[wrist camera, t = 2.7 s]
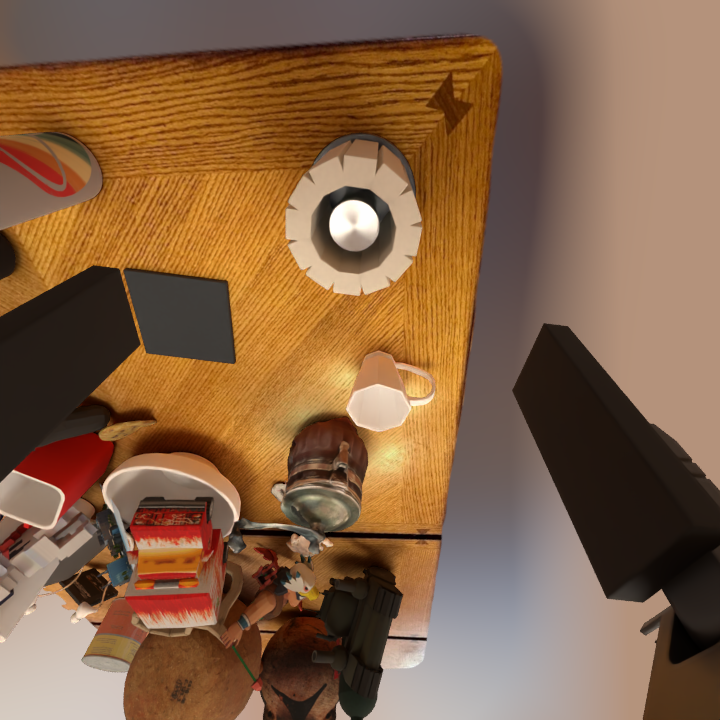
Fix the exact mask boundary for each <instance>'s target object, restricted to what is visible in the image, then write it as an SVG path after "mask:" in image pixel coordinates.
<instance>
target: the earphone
mask: <svg viewBox="0 0 720 720" xmlns="http://www.w3.org/2000/svg"><path fill="white" fill-rule="evenodd" d="M90 523H91V524H95V523H96V520H93V519H90ZM125 533H126V536H127V539H128V540H129V542H130V550H131V551H133V549H134V540H133V538H132V536H131V535H130V534H129V533H128V532H127V531H125ZM82 570H83V567H82V568H81V571H80V573H79V575H78V576H77V577H76V579H75V580H74V581H72V582H71V583H70V584H69V585H67V586H66V587H64V588H62V589H60V590H58V591H55V592H52V593H48V594H44V595H37V596H36V598H35V599H34V600H33V602H32V603H31V605H30V606H29V608H28V609H27V611H26V612H25V613H24V614H25V615H27V614H30V613H32V612H33V611H35V609H36V604H35V602H36V600H37V597H42V596H47V595H51V594H54V593H57V592H59V591H61V590H63V589H65V588H67V587H68V586H70V585H71V584H72V583H74V582H75V581H76V580H77V578H78V577H79V576H80V574H81V572H82ZM110 581H111V579H110V580H109V582H108V584H109V583H110ZM107 587H108V586H107ZM107 587H106V588H105V590H104V593H103V597H102V601H101V604H100V605H99V607H98V608H97V607H92V606H90V605H89V604H88V603H87V602H82V603H81V604H80V605H79V607H78V609H77V611H76V612H75V613H74V614H73V615H72V617H71V622H72V623H77V622H78V621H80V620H81V618H84V617H85V616H87V615H88V614H91V613H95V612H97V611H98V609H99V608H100V607H101V605H102V603H103V600H104V596H105V592H106V589H107Z"/></svg>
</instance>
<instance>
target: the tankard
mask: <svg viewBox="0 0 720 720" xmlns="http://www.w3.org/2000/svg"><path fill="white" fill-rule="evenodd" d="M226 573H227V574H229V575H230V576H231V578H232V584H231V588H230V590H229V591H228V593H227V594H226V596H225V597H224V598H223V600H222V601H221V603H220V609H219V615H218V621H217V623H216V624H215V625H205V626H196V627H186V628H150V629H148V628H147V627H146V625H145V624H144V623H143V622H142V620H141V619H140V618H139V616H138V615H137V614H136V612H135V611H134V612H133V614H132V621H131V623H132V624H133V625H134V626H136V627H138V628H140V629H142V630H143V631H145V632H149V633H151V634H157V635H162V636H167V637H170V636H171V637H178V636H187V635H189V634H191V631H192V629H193V628H198V629H204V630H208V631H209V632H211V633H212V634H213V635H214V636H216V637H217V638H218V639H219V640H220V641H221V639H220V636H222V635H223V633H224V632H225V631H226V630H227V628H226V626H225V625H224V622H225V620H226V617H227V615H228V612H229V610H230V608H231V606H232V605H233V603H234V602H235V600H236V599H237V597H238V596H239V594H240V593H241V589H242V585H243V581H244V579H243V574H242V568H241V566H240V565H237V564H235V563H233V562H231V561H227V568H226ZM235 641H236V639H235V640H234V642H235ZM221 642H222V641H221ZM222 643H223V642H222ZM223 644H224V643H223ZM224 645H225V644H224Z"/></svg>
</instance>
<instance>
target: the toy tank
mask: <svg viewBox="0 0 720 720" xmlns="http://www.w3.org/2000/svg"><path fill="white" fill-rule="evenodd" d="M363 573H364V574H365V577H364V579H363V578H360V577H358V578H356V579H353V578H350V577H348V576H346V577H345V578H344V580H341V579H334V578H331V579H330V584H331V585H333V587H331V588H330V589H329V591H328V590H324V593H321V594H323V595H325V596H324V599H323V603H322V606H321V609H320V611H314V612H316V613H318V614H316V617H319V618H321V620H322V621H323V622H324V623H325V624H324V627H325V629H326V631H327V635H323V634H320V633H317V634H316V637H317V638H321V639H324V640H328V641H329V642H331V641H336V640H337V639H338V638H341V637H346V640H345V644H344V646H342V645H337V646H335V647H333V649H332V651H320V650H314V651H313V653H312V662H317V663H330V664H331V667H332V668H333V669H335V670H336V671H338V674H339V673H341V672H342V674H343V676H344V679H345V682H346V683H347V684H348V685H349V686H350V687H351V689H352V690H353V691H354V692H356V693H357V694H359V695H361V696H362V697H364V698H367V697H368V698H369V699H375V697H376V695H377V692H378V688H379V684H380V680H381V677H382V672H383V669H382V668H381V665H380V664H381V660H382V656H383V652H384V649H385V645H386V641H387V637H388V634H389V630H390V626H391V622H392V619H393V618H394V619H395V618H396V617H397V616H398V612H399V608H400V604H401V600H402V597H403V594H402V593H401V592H400V591H399V590H398V589H397V588H396V587H395V586H394V585H396V582H395V578H396V576H394V575H393V574H392V573H391V572H390V571H388V570H385V569H382V568H379V567H370V568H368V569H367V570H366V569H364V570H363ZM319 593H320V592H319ZM302 609H304V608H302ZM305 610H308V609H305ZM309 611H313V610H309ZM316 617H315V618H316Z"/></svg>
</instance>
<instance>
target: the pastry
mask: <svg viewBox="0 0 720 720" xmlns="http://www.w3.org/2000/svg"><path fill="white" fill-rule="evenodd" d="M155 423H157V422H156V420H147V421H132V422H122V423H117V424H114V425H111V426H108V427H105V428H103V429H102V430H101V431H100V432H99V437H100V438H101V439H102V440H104V441H114V440H118V439H122V438H125V437H126V436H128V435H130V434H132V433H134V432H136V431H137V430H138V429H140V427H144V426H150V425H154V424H155Z"/></svg>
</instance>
